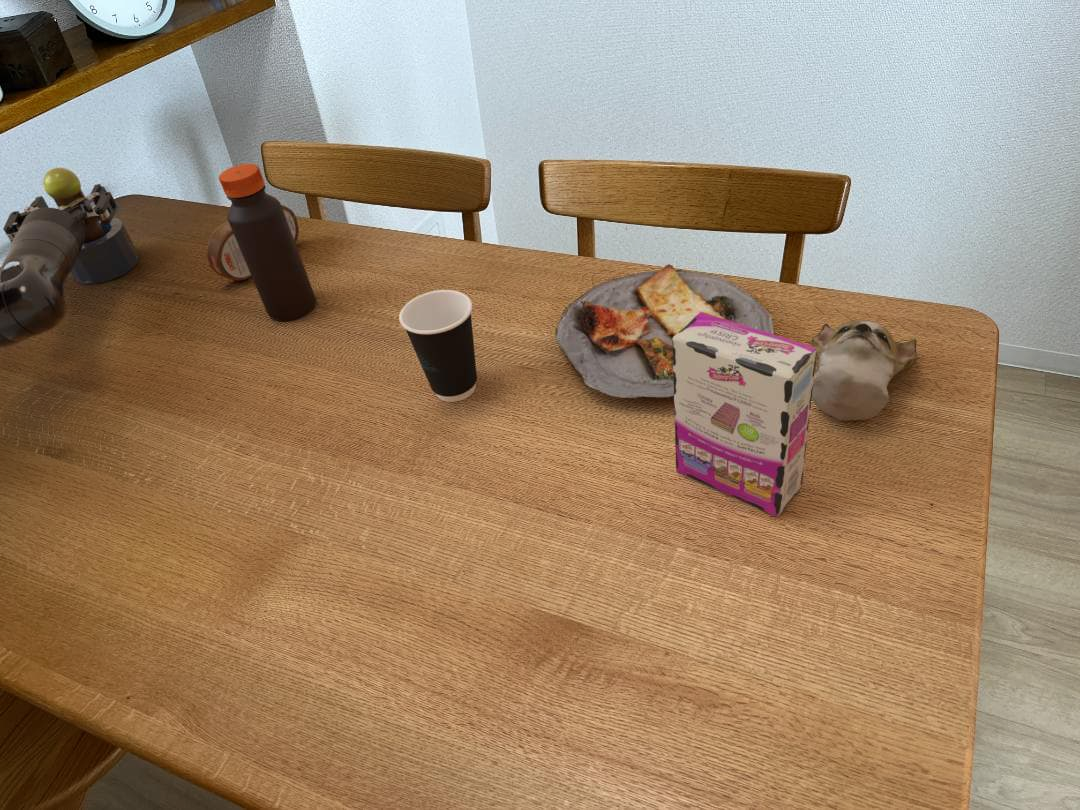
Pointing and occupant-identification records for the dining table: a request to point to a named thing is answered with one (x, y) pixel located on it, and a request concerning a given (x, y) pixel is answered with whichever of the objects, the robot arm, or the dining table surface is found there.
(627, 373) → the food plate
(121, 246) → the tube
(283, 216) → the bottle
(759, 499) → the candy bar box
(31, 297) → the robot arm
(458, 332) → the dixie cup
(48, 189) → the ball peg
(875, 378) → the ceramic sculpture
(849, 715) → the dining table surface
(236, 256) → the tin
